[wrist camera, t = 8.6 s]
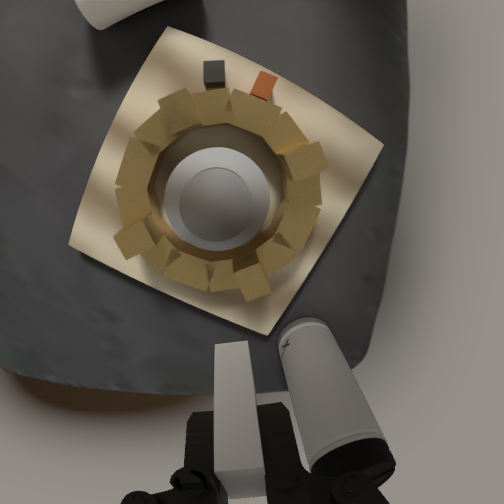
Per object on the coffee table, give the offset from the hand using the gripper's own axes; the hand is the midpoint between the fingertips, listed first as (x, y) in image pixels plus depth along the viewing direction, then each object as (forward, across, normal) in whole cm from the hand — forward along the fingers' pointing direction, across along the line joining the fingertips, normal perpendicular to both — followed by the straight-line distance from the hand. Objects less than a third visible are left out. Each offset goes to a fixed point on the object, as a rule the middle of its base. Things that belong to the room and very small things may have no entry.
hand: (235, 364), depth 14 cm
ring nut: (+14, 0, +7) cm, 15 cm away
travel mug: (+16, +7, -12) cm, 21 cm away
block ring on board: (+16, 0, +6) cm, 17 cm away
